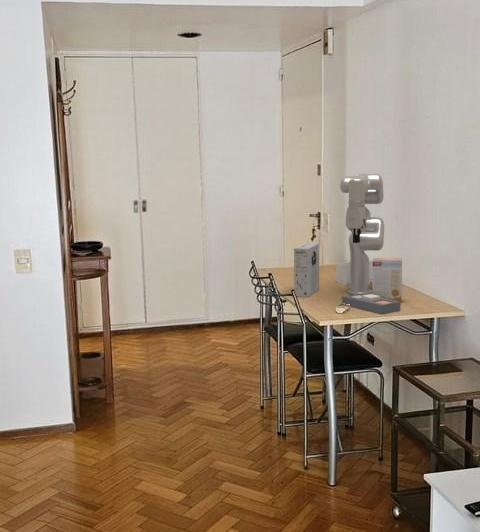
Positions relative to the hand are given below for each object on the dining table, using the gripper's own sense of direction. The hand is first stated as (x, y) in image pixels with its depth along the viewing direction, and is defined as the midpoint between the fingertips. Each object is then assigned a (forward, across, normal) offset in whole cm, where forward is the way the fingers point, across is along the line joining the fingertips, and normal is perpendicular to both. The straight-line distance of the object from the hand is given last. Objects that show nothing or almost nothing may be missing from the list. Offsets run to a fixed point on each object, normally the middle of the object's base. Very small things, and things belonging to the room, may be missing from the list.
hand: (356, 242), depth 333 cm
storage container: (+30, -35, +38) cm, 59 cm away
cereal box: (+29, -32, -4) cm, 44 cm away
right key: (+28, +21, -3) cm, 35 cm away
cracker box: (+29, +8, +13) cm, 33 cm away
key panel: (+29, +13, -3) cm, 32 cm away
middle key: (+26, +13, -3) cm, 29 cm away
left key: (+28, +5, -3) cm, 29 cm away
